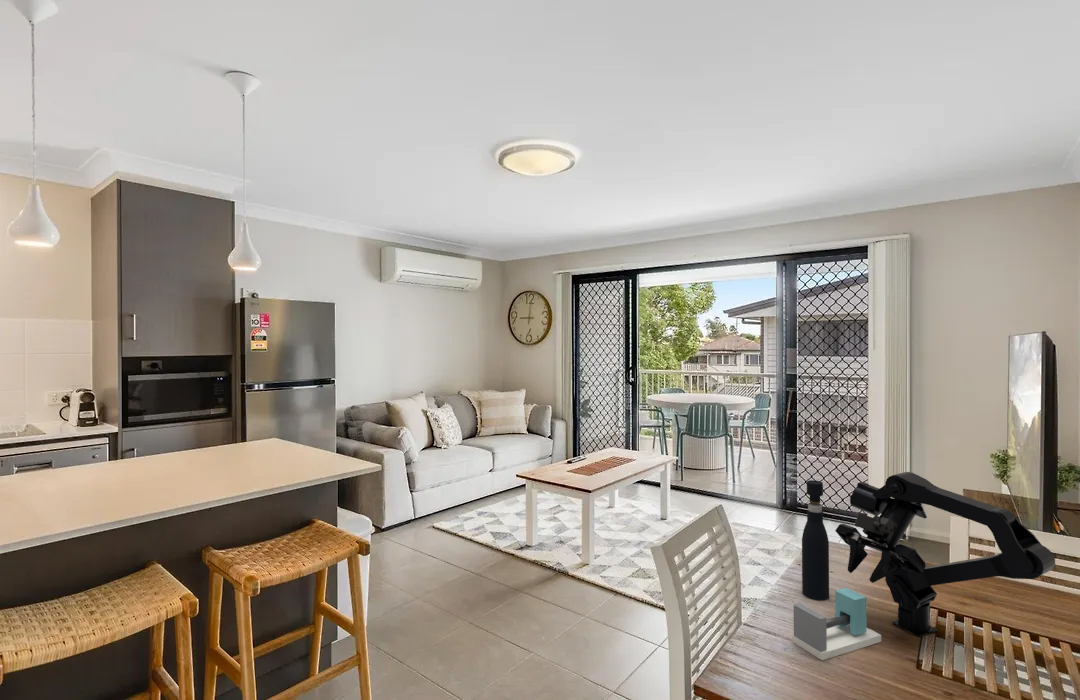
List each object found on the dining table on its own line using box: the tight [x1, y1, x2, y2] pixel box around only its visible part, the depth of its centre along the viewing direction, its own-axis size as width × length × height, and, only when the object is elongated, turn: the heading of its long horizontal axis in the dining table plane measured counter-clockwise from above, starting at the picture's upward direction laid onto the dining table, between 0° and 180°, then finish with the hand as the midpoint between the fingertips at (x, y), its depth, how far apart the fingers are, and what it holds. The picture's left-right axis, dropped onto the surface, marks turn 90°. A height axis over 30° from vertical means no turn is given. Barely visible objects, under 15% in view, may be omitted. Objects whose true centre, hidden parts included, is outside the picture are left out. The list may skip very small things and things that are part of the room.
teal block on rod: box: [834, 587, 868, 635], centre depth 123 cm, size 4×5×8 cm
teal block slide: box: [791, 602, 882, 661], centre depth 121 cm, size 18×8×8 cm, turn 112°
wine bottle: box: [801, 480, 830, 601], centre depth 143 cm, size 6×6×30 cm
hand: (859, 576), depth 124 cm, fingers open, 5 cm apart
